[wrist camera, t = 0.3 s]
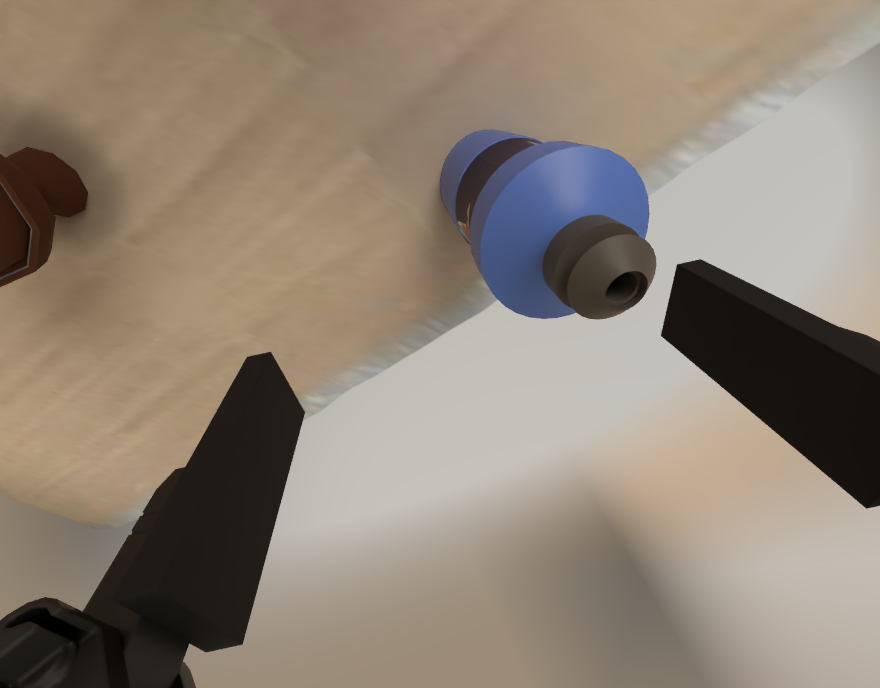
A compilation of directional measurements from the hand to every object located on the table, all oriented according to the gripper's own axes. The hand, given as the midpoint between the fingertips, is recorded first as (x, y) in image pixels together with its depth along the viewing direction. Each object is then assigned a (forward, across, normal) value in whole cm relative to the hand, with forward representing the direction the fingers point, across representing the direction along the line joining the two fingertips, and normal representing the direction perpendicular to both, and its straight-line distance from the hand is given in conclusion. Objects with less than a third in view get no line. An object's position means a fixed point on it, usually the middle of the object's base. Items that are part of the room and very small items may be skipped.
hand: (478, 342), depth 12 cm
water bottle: (+28, +6, -1) cm, 28 cm away
